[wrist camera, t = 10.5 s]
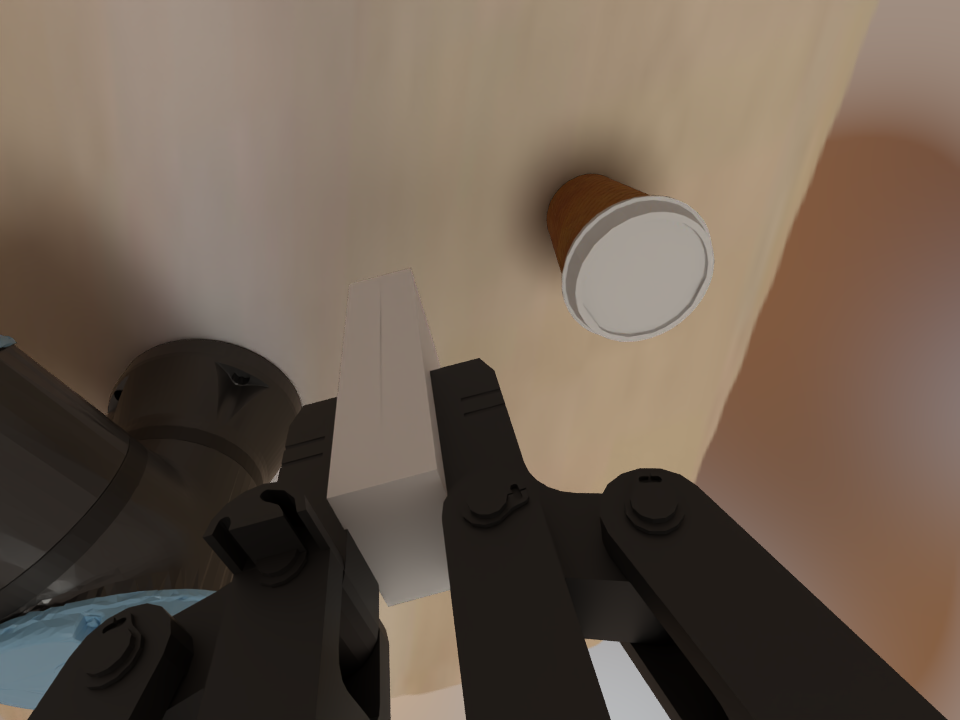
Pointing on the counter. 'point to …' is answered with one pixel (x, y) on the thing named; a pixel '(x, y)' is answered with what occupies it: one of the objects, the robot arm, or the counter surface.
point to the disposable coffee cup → (628, 257)
